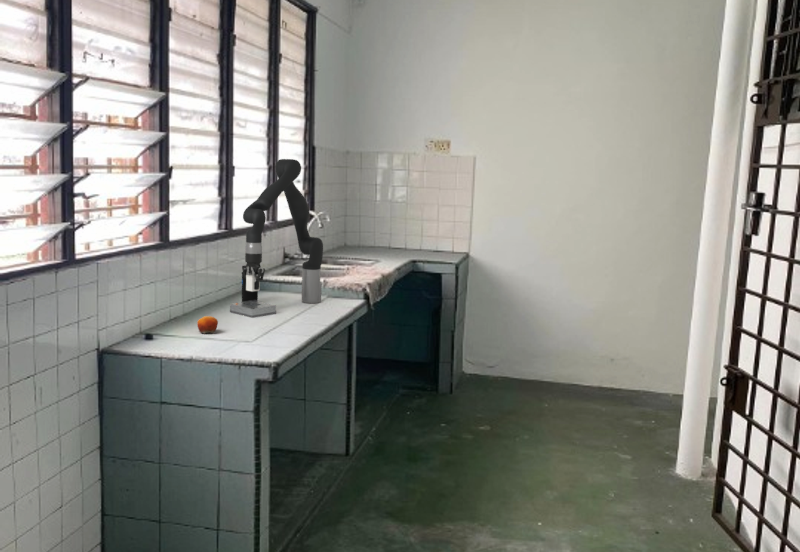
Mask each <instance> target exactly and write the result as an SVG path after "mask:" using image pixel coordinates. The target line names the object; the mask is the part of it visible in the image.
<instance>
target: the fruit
mask: <svg viewBox="0 0 800 552" xmlns="http://www.w3.org/2000/svg"><path fill="white" fill-rule="evenodd" d="M196 322H197V323H196V324H197V328H198V332H199V333H200V334H204V335H205V334H208V333H209V334H210V333H211V334H214V333H215V331H216V330H217V328H218V323H219V321H218V319H217V318H215V317H214V316H212V315H211V316H209V315H205V316H202V317H201V318H199V319H198V320H197V321H196Z"/></svg>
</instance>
